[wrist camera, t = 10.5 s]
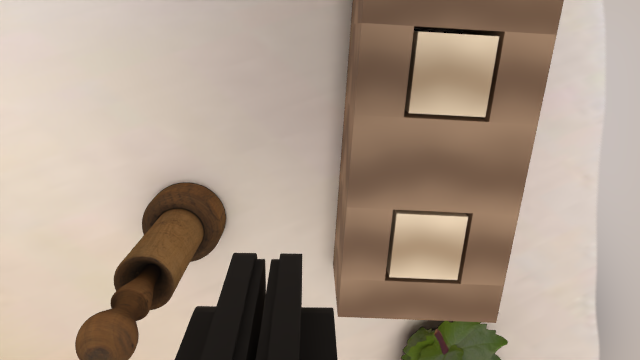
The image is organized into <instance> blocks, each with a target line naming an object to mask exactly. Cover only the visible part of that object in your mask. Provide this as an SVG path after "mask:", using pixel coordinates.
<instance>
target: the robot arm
mask: <svg viewBox="0 0 640 360" xmlns="http://www.w3.org/2000/svg"><path fill="white" fill-rule="evenodd" d="M301 304H302V254H280V259H272V260H271V265H270V272H269V278H268V284H267V291H266V279H265V259H257V254H256V253H234V254H233V256H232V259H231V262H230V266H229V269H228V272H227V275H226V278H225V281H224V285H223V288H222V291H221V294H220V297H219V300H218V304H217V307H210V306H197V307H196V308H195V310H194V312H193V314H192V317H191V319H190V322H189V324H188V327H187V330H186V332H185V335H184V337H183V340H182V343H181V345H180V348H179V350H178V353H177V355H176V358H175V360H337V349H336V336H335V323H334V311H333V308H303V307H301Z"/></svg>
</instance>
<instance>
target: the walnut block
mask: <svg viewBox="0 0 640 360" xmlns="http://www.w3.org/2000/svg"><path fill="white" fill-rule="evenodd" d="M563 1H564V0H353V4H352V17H351V31H350V44H349V58H348V71H347V85H346V98H345V111H344V125H343V138H342V152H341V165H340V179H339V192H338V206H337V219H336V233H335V246H334V260H333V268H334V279H335V290H336V301H337V312H338V317H360V318H386V319H412V320H438V321H464V322H490V323H496V320H497V316H498V311H499V306H500V301H501V297H502V292H503V287H504V282H505V278H506V273H507V268H508V263H509V258H510V254H511V249H512V244H513V239H514V235H515V230H516V225H517V220H518V216H519V211H520V206H521V201H522V197H523V192H524V187H525V182H526V177H527V173H528V168H529V163H530V158H531V154H532V149H533V144H534V139H535V135H536V130H537V125H538V120H539V116H540V111H541V106H542V101H543V97H544V92H545V87H546V82H547V77H548V73H549V68H550V63H551V58H552V54H553V49H554V44H555V39H556V35H557V30H558V25H559V20H560V16H561V11H562V6H563ZM414 28H423V29H439V30H456V31H464V32H463V34H467V35H484V36H499V41H498V47H497V52H496V58H495V64H494V70H493V76H492V81H491V87H490V93H489V99H488V105H487V110H486V116H485V117H472V116H453V115H435V114H416V113H408V112H407V111H406V110H405V102H406V93H407V85H408V76H409V67H410V59H411V50H412V41H413V33H414ZM393 210H415V211H436V212H457V213H465V214H466V215H467V216H468V221H467V226H466V232H465V238H464V244H463V250H462V255H461V261H460V267H459V273H458V279H457V280H444V279H420V278H396V277H389V275H388V272H387V268H386V266H387V257H388V249H389V240H390V232H391V223H392V214H393Z"/></svg>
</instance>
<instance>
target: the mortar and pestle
mask: <svg viewBox="0 0 640 360" xmlns="http://www.w3.org/2000/svg"><path fill="white" fill-rule="evenodd" d="M225 222H226V216H225V210H224V207H223V205H222V203H221V201H220V200H219V198H218V197H217V196H216V195H215V194H214V193H213V192H212V191H210V190H209V189H207V188H206V187H203V186H201V185H198V184H193V183H179V184H175V185H171V186H169V187H167V188H165V189H164V190H162V191H161V192H160V193H159V194H158V195H157V196H156V197H155V198H154V199H153V200H152V201H151V202H150V203H149V205H148V206H147V208H146V210H145V212H144V215H143V219H142V229H143V234H144V236H143V237H142V239H141V240H140V241H139V242H138V243H137V244H136V246H135V247H134V248H133V249H132V250H131V252H130V253H129V254H128V255H127V256H126V257H125V259H124V260H123V261H122V262H121V263H120V265H119V266H118V267H117V269H116V271H115V275H114V286H115V289H116V292H115V293H114V295H113V296H112V298H111V308H112V309H109V310H106V311H102V312H99V313H97V314H95V315H93V316H91V317H90V318H89V319H88V320H86V321H85V323H84V324H83V325H82V326H81V328H80V330H79V332H78V334H77V337H76V343H75V347H76V353H77V356H78V358H79V359H80V360H128V359H129V358H130V357H131V356H132V354H133V353H134V351H135V349H136V346H137V343H138V328H137V324H136V321H138V320H141V319H143V318H144V317H145V316H146V315H147V314H148V312H149V310H153V309H157V308H159V307H161V306H163V305H165V304H166V303H167V302H168V301H169V300H170V298H171V297H172V295H173V293H174V291H175V289H176V287H177V285H178V283H179V281H180V279H181V277H182V276H183V274H184V272H185V270H186V268H187V266H188V265H189V263H190V262H192V261H196V260H199V259H201V258H203V257H205V256H206V255H208V254H209V253H210V252H211V251H212V250H213V249H214V248H215V246H216V245H217V243H218V241H219V239H220V237H221V235H222V233H223V231H224V228H225Z"/></svg>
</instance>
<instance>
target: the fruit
mask: <svg viewBox="0 0 640 360" xmlns="http://www.w3.org/2000/svg"><path fill="white" fill-rule="evenodd" d="M480 323H481V322H464V321H453V322H449V321H444V322H443V323H442V324H441V325H440V326H439V327H438V329H436V330H434V331H432V328H431V329H429V330H426V329H425V328H423V327H421V328H420V329H419V330H418V331H416V333H415V334H413V335H412V336H411V337H410V338H409V339H408V342H407V343H408V345H407V346H406V347H405V348H404V349H403V351H404V352H405V353H406V354H405V355H403V356H402V357H401V358H402V359H403V360H501V359H500V358H499V357H498V356H497V355H495V352H496V351H497V350H498V349H499V348H501V347H502V346H504V345H506V344H507V343H508V342H507V340H506V339H504V338H503V337H501V336H499V335H496V334H495V333H496V330H488V329H486V326H487V324H480Z"/></svg>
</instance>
